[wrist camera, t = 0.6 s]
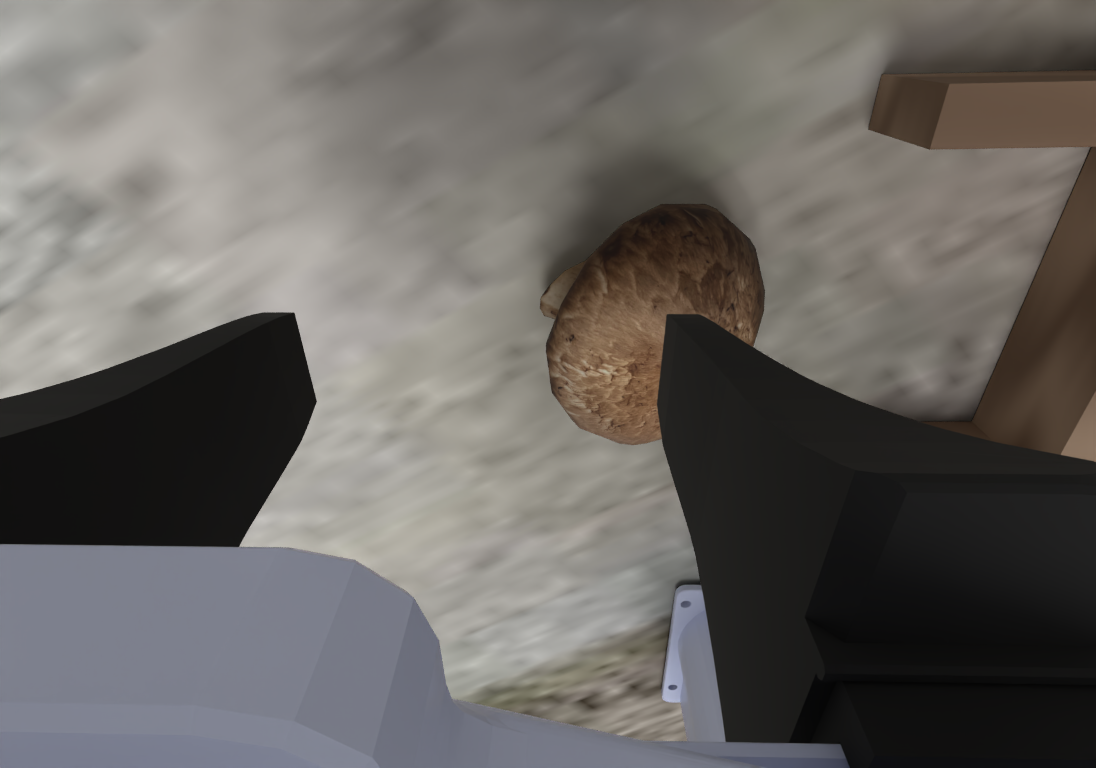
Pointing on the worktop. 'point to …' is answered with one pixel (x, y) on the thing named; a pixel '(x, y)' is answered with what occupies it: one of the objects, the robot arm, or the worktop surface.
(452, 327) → the worktop surface
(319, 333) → the worktop surface
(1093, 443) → the wooden crate
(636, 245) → the mushroom
